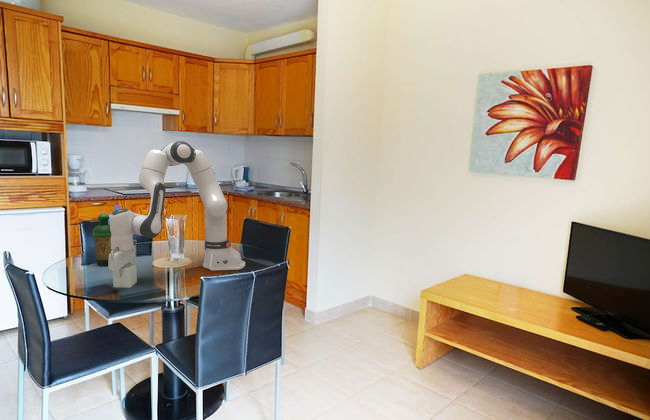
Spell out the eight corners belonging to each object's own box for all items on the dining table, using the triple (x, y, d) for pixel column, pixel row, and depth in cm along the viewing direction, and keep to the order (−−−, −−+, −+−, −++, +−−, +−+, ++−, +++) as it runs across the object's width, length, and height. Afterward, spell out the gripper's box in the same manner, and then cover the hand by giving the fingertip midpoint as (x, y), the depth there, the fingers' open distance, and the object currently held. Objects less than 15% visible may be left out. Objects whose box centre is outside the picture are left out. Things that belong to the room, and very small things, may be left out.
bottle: (101, 268, 212) (98, 215, 208) (90, 264, 218) (87, 212, 213) (121, 263, 221) (119, 212, 217) (110, 260, 227) (107, 210, 222)
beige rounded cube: (136, 282, 194) (136, 264, 192) (130, 287, 186) (129, 268, 185) (120, 281, 193) (120, 263, 192) (113, 287, 186) (112, 268, 185)
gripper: (118, 250, 177) (119, 281, 179) (138, 239, 197) (139, 267, 199) (103, 250, 176) (105, 281, 179) (124, 239, 197) (126, 267, 199)
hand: (123, 274), depth 189 cm, fingers open, 8 cm apart
